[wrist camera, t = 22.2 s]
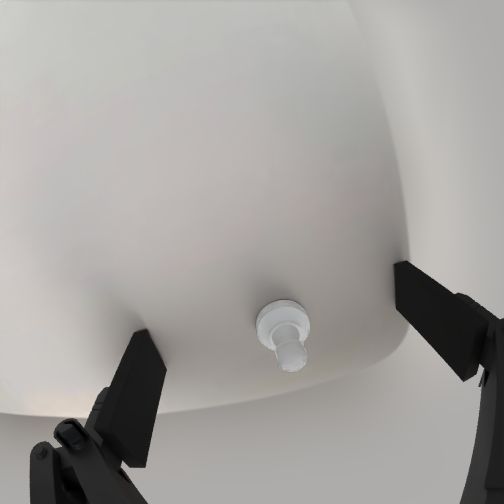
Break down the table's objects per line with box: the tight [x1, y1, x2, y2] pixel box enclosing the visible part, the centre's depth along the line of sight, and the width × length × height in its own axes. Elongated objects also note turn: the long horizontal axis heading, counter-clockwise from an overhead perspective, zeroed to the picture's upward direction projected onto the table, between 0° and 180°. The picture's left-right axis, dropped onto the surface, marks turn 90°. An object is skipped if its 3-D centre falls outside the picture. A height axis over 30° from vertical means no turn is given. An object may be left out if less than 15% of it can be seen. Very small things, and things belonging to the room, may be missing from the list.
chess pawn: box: [256, 300, 310, 372], centre depth 13 cm, size 3×3×4 cm
